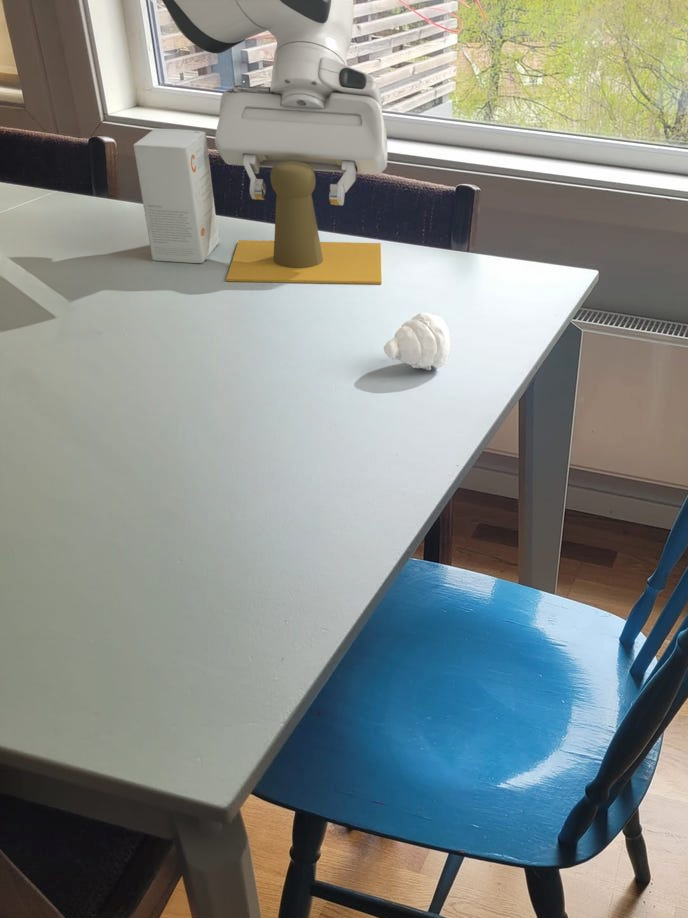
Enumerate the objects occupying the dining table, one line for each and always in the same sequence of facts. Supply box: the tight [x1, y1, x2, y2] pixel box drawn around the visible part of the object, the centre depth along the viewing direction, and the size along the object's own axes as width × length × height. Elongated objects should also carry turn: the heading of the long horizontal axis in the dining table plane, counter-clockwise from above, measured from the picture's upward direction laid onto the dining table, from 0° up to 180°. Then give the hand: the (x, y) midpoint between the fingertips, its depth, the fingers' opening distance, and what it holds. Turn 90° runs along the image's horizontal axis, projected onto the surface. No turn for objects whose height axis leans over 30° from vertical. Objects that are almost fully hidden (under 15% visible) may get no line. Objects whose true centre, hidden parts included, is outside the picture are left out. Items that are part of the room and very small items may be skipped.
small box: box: [132, 127, 220, 264], centre depth 119 cm, size 8×6×13 cm
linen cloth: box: [225, 239, 382, 285], centre depth 122 cm, size 18×14×1 cm
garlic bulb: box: [383, 312, 451, 371], centre depth 98 cm, size 6×6×5 cm
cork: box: [269, 161, 323, 268], centre depth 118 cm, size 6×6×11 cm
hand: (296, 199), depth 117 cm, fingers open, 8 cm apart
